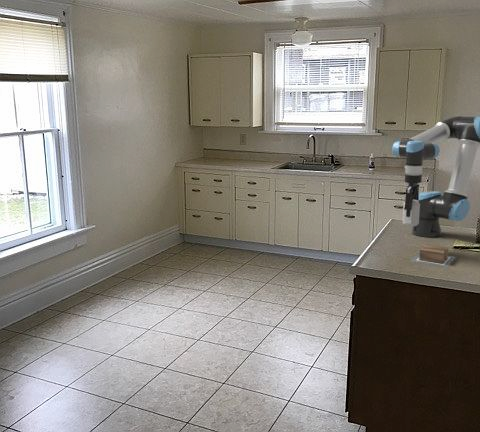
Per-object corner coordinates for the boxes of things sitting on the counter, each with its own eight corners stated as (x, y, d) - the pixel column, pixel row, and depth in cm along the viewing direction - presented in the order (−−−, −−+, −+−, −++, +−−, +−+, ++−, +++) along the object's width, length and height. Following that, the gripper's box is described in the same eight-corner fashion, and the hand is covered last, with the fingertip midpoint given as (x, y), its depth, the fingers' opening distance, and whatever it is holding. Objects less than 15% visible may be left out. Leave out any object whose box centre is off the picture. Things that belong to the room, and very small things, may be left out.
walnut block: (425, 254, 246) (425, 244, 245) (447, 258, 240) (448, 247, 239) (419, 260, 238) (419, 249, 236) (442, 263, 232) (443, 253, 231)
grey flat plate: (420, 253, 251) (420, 251, 251) (456, 258, 242) (456, 256, 242) (409, 263, 236) (409, 261, 236) (446, 269, 228) (447, 267, 227)
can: (419, 226, 247) (421, 202, 244) (403, 226, 248) (404, 201, 246) (417, 222, 254) (419, 198, 251) (401, 222, 256) (402, 198, 253)
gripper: (411, 170, 256) (409, 215, 261) (398, 176, 239) (396, 225, 245) (427, 171, 251) (424, 217, 257) (415, 178, 235) (412, 227, 241)
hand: (410, 221), depth 251 cm, fingers closed on can, 7 cm apart
